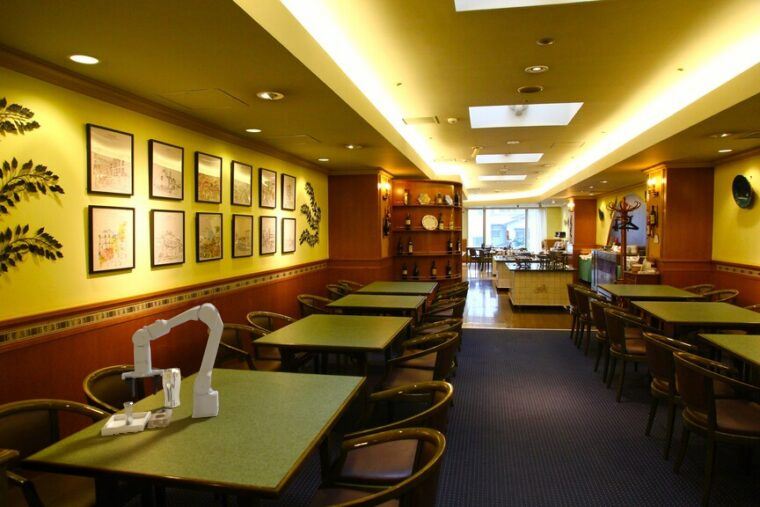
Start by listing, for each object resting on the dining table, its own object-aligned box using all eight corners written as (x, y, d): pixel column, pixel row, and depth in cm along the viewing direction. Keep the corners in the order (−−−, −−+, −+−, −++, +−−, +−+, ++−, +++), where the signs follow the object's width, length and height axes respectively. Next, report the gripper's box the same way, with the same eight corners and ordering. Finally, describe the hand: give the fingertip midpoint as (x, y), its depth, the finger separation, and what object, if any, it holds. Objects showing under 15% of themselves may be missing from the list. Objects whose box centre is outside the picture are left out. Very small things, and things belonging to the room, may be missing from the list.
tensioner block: (174, 412, 191) (174, 405, 191) (168, 426, 177) (167, 418, 177) (156, 414, 189) (155, 407, 189) (147, 428, 176) (147, 420, 175)
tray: (151, 417, 186) (151, 411, 186) (142, 431, 173) (142, 424, 173) (113, 421, 183) (112, 415, 183) (101, 435, 170) (101, 429, 170)
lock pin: (134, 422, 180) (134, 401, 180) (132, 425, 177) (131, 404, 177) (125, 422, 179) (124, 402, 179) (123, 426, 176) (122, 405, 176)
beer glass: (159, 407, 198) (158, 371, 197) (172, 401, 204) (171, 367, 203) (172, 409, 195) (171, 373, 194) (185, 403, 201) (184, 368, 201)
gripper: (118, 365, 176) (120, 400, 176) (160, 361, 179) (162, 396, 180) (124, 360, 183) (125, 394, 183) (164, 356, 186) (166, 390, 187)
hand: (144, 395), depth 182 cm, fingers open, 7 cm apart
